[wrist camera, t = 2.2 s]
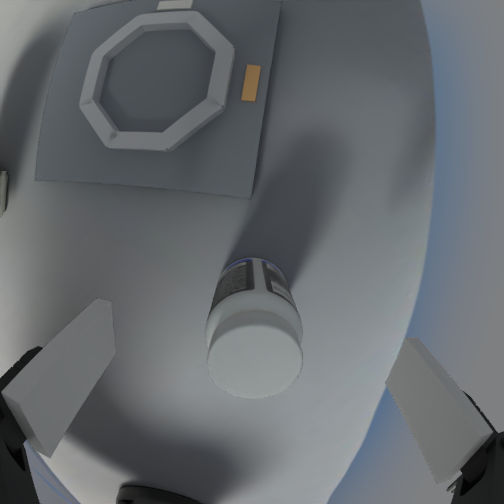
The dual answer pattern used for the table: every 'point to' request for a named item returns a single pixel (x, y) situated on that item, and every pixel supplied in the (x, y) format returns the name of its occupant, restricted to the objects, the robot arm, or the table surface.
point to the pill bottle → (253, 331)
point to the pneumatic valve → (3, 190)
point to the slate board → (161, 95)
